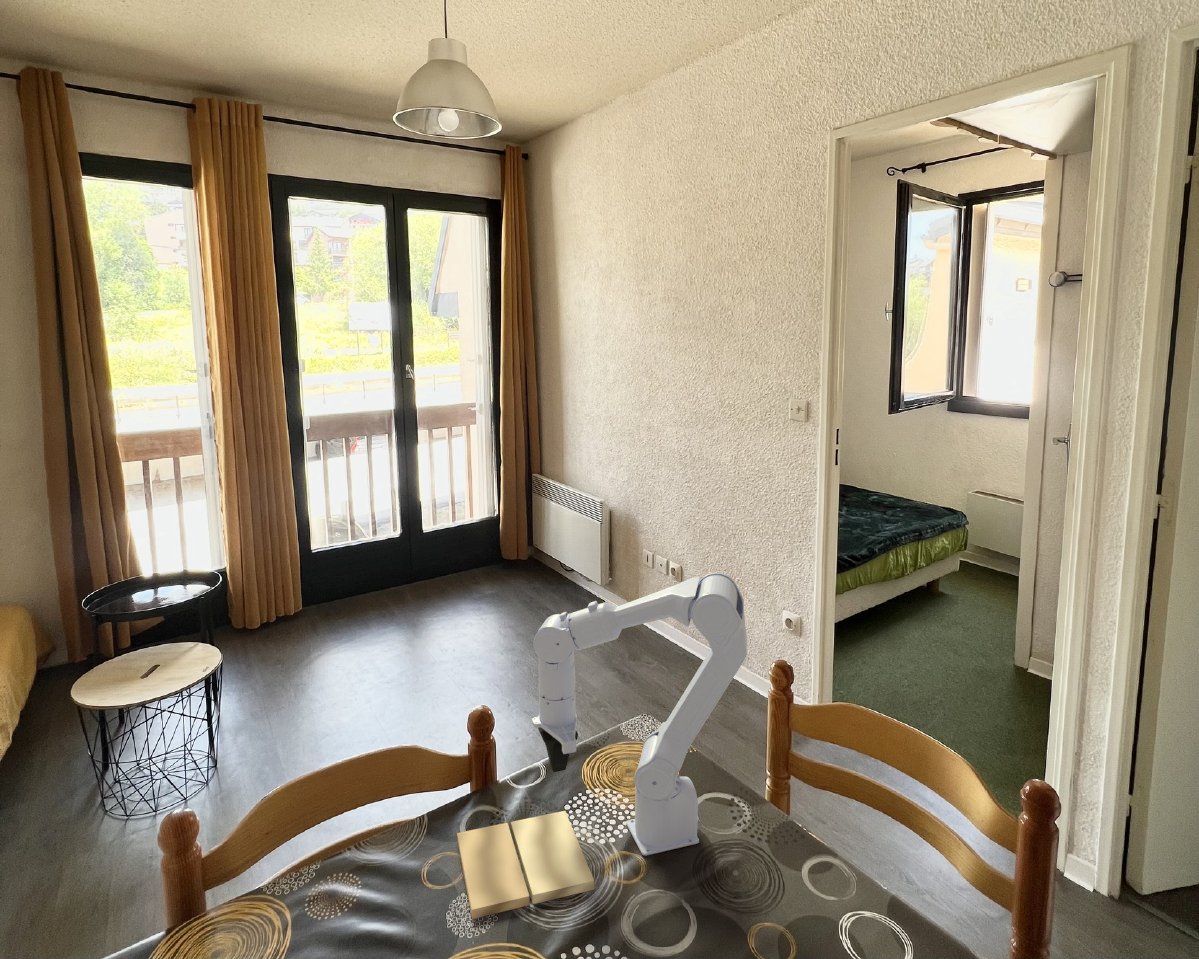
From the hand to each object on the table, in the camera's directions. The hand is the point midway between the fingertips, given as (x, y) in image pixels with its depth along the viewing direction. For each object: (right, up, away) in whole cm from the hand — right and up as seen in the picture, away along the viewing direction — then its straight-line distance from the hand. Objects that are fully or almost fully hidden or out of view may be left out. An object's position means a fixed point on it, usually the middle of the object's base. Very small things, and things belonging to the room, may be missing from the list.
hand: (558, 768), depth 120 cm
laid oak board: (-9, -12, -9) cm, 18 cm away
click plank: (-1, -11, -6) cm, 13 cm away
